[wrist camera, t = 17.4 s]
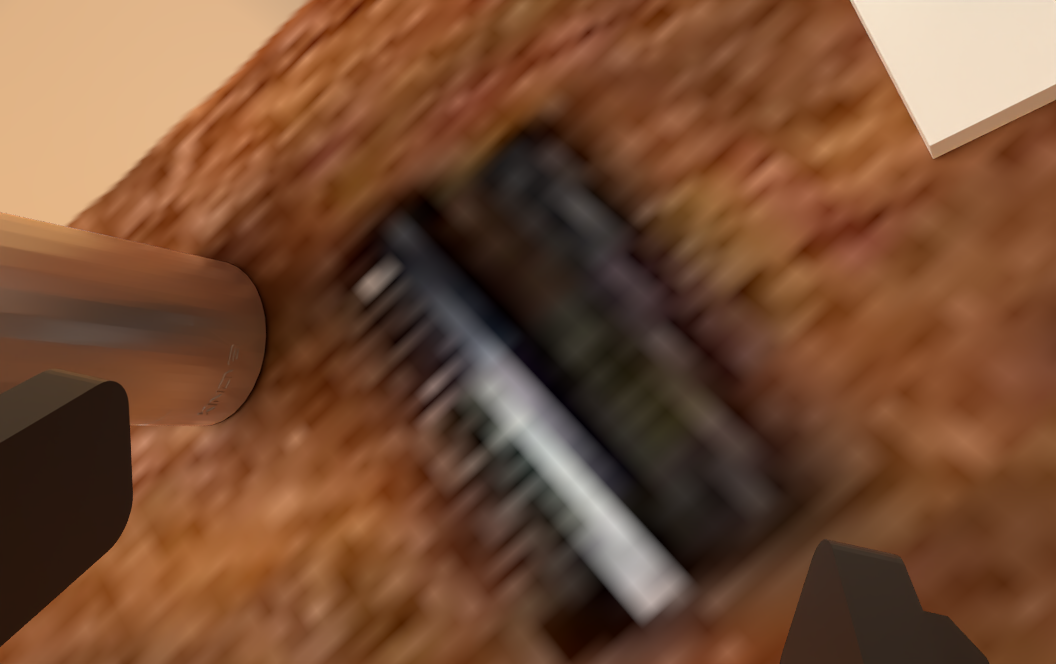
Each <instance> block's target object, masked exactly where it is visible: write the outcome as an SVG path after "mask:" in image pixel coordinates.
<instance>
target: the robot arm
mask: <svg viewBox="0 0 1056 664" xmlns="http://www.w3.org/2000/svg"><path fill="white" fill-rule="evenodd" d="M265 342H266V325H265V315H264V310H263V306H262V302H261V299H260V297H259V294H258V292H257V290H256V287H255V286H254V284H253V283H252V281H251V280H250V279H249V277H248V276H247V275H246V274H245V273H244V272H243V271H242V270H240V269H239V268H238V267H236V266H234V265H232V264H229V263H227V262H223V261H219V260H214V259H210V258H205V257H201V256H196V255H192V254H187V253H183V252H178V251H174V250H169V249H165V248H161V247H156V246H152V245H147V244H143V243H138V242H134V241H129V240H125V239H120V238H116V237H111V236H106V235H102V234H97V233H93V232H88V231H84V230H79V229H75V228H70V227H66V226H61V225H56V224H52V223H47V222H42V221H38V220H34V219H29V218H25V217H20V216H16V215H11V214H7V213H2V212H0V647H1V646H2V645H3V644H4V643H5V642H6V641H7V640H9V639H10V638H11V637H12V636H13V635H14V634H15V633H16V632H18V631H19V630H20V629H21V628H22V627H23V626H24V625H25V624H27V623H28V622H29V621H30V620H31V619H32V618H33V617H34V616H36V615H37V614H38V613H39V612H40V611H41V610H42V609H43V608H45V607H46V606H47V605H48V604H49V603H50V602H51V601H52V600H54V599H55V598H56V597H57V596H58V595H59V594H60V593H61V592H63V591H64V590H65V589H66V588H67V587H68V586H69V585H70V584H72V583H73V582H74V581H75V580H76V579H77V578H78V577H79V576H81V575H82V574H83V573H84V572H85V571H86V570H87V569H88V568H90V567H91V566H92V565H93V564H94V563H95V562H96V561H97V560H99V559H100V558H101V557H102V556H103V555H104V554H105V553H106V552H108V551H109V550H110V549H111V548H112V547H113V545H114V544H115V543H116V542H117V540H118V539H119V537H120V536H121V534H122V532H123V530H124V528H125V526H126V524H127V521H128V518H129V515H130V512H131V507H132V501H133V488H132V464H131V440H130V425H168V426H205V425H213V424H216V423H218V422H221V421H223V420H225V419H226V418H228V417H229V416H231V415H232V414H233V413H235V411H236V410H237V409H238V408H239V407H240V406H241V405H242V404H243V403H244V402H245V400H246V399H247V397H248V395H249V394H250V392H251V391H252V389H253V387H254V385H255V382H256V380H257V377H258V375H259V373H260V369H261V365H262V361H263V357H264V352H265ZM780 664H989V662H988V660H987V658H986V657H985V656H984V655H983V653H982V652H981V651H980V650H979V649H978V648H977V647H976V646H975V645H974V644H973V643H972V642H971V641H970V640H969V639H968V637H967V636H966V635H965V634H964V633H963V632H962V631H961V630H960V629H959V628H958V627H957V626H956V625H955V624H954V623H953V621H952V620H951V619H950V618H949V617H948V616H943V615H939V614H934V613H930V612H926V611H923V610H922V607H921V605H920V602H919V600H918V597H917V595H916V592H915V590H914V587H913V585H912V582H911V580H910V577H909V575H908V572H907V570H906V567H905V565H904V563H903V561H902V559H901V558H900V557H899V556H898V555H895V554H890V553H886V552H881V551H877V550H872V549H868V548H863V547H858V546H854V545H849V544H845V543H840V542H836V541H831V540H827V539H826V540H823V541H821V542H820V544H819V545H818V547H817V548H816V551H815V553H814V555H813V558H812V561H811V564H810V567H809V571H808V574H807V577H806V580H805V583H804V586H803V589H802V593H801V596H800V599H799V602H798V605H797V608H796V611H795V615H794V618H793V621H792V624H791V627H790V630H789V633H788V637H787V640H786V643H785V646H784V649H783V653H782V656H781V660H780Z"/></svg>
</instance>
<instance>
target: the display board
mask: <svg viewBox="0 0 1056 664" xmlns="http://www.w3.org/2000/svg"><path fill="white" fill-rule="evenodd" d="M850 1H851V3H852V5H853V7H854V9H855V11H856V13H857V15H858V17H859V19H860V20H861V22H862V24H863V26H864V28H865V30H866V32H867V34H868V36H869V38H870V40H871V41H872V43H873V45H874V47H875V49H876V51H877V53H878V55H879V57H880V59H881V60H882V62H883V64H884V66H885V68H886V70H887V72H888V74H889V76H890V78H891V80H892V81H893V83H894V85H895V87H896V89H897V91H898V93H899V95H900V97H901V99H902V100H903V102H904V104H905V106H906V108H907V110H908V112H909V114H910V116H911V118H912V120H913V121H914V123H915V125H916V127H917V129H918V131H919V133H920V135H921V137H922V139H923V141H924V142H925V144H926V146H927V148H928V150H929V152H930V154H931V156H932V158H933V159H935V158H937V157H939V156H941V155H943V154H945V153H947V152H949V151H951V150H953V149H955V148H957V147H960V146H962V145H964V144H966V143H968V142H970V141H972V140H974V139H976V138H978V137H980V136H982V135H984V134H986V133H988V132H991V131H993V130H995V129H997V128H999V127H1001V126H1003V125H1005V124H1007V123H1009V122H1011V121H1013V120H1015V119H1017V118H1019V117H1021V116H1024V115H1026V114H1028V113H1030V112H1032V111H1034V110H1036V109H1038V108H1040V107H1042V106H1044V105H1046V104H1048V103H1050V102H1052V101H1054V100H1056V0H850Z"/></svg>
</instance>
